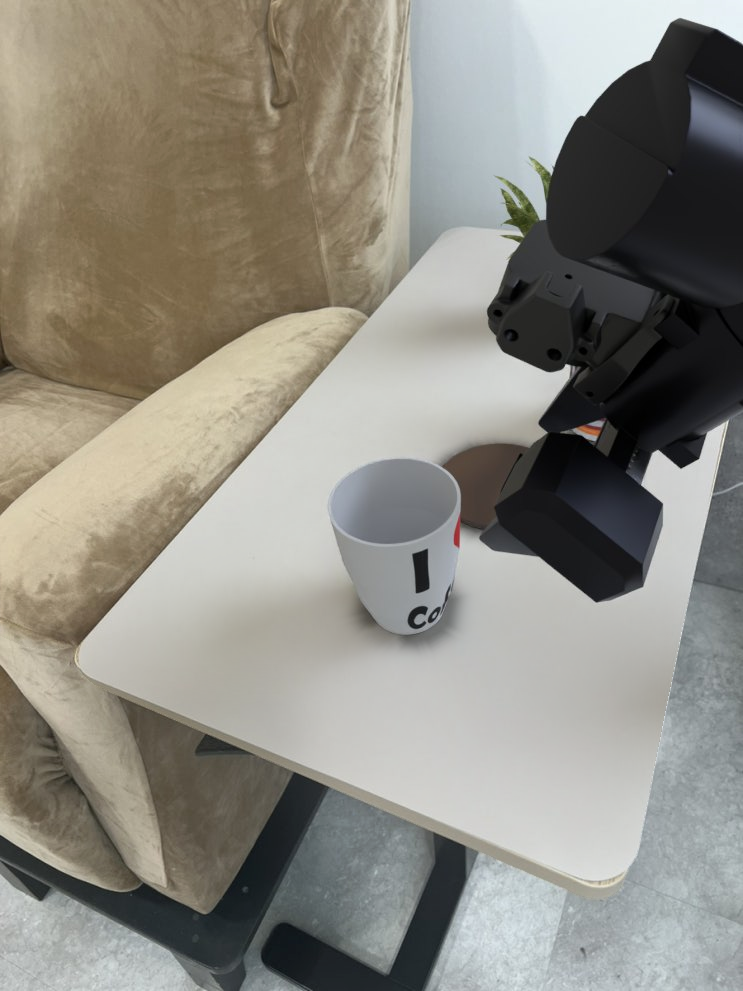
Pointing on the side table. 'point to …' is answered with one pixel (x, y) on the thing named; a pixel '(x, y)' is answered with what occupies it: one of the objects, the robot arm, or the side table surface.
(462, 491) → the coaster
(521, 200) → the house plant
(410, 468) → the cup
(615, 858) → the side table surface
